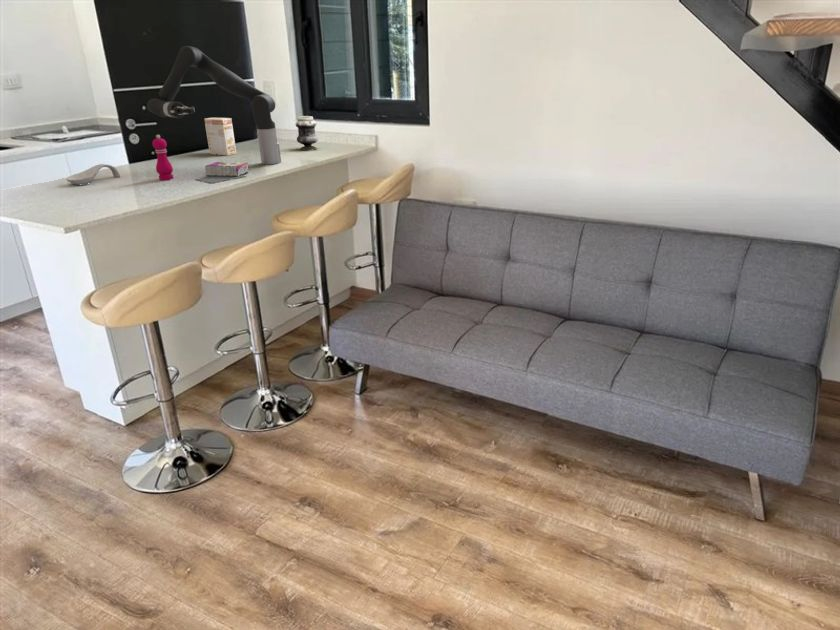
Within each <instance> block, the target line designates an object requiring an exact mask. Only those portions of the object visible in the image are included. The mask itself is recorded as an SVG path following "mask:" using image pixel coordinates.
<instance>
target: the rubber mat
mask: <svg viewBox="0 0 840 630" xmlns="http://www.w3.org/2000/svg"><path fill="white" fill-rule="evenodd" d="M242 177H243V178H247V175H244V174H242V175H240V176H205V177H200V178H195V179H194V180H195V181H198V180H199V182H202V181H204V182H203V183H207V182H208V184H211V183H212V184H216V183H215V182H217V183H221V182H220V181H222V182H226V181H225V180H227V181H231V180H230V179H233V180H237V178H238V179H242Z"/></svg>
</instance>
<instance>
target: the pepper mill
mask: <svg viewBox="0 0 840 630" xmlns="http://www.w3.org/2000/svg"><path fill="white" fill-rule="evenodd" d="M167 145H168V144H167V141H166V140H165V139H164V138H161V135H160V134H156V135H155V138H154V139H153V140H152V147H153V148H154V149H155V150H154V153H156V157H157V158H156V159H157V162H156V166H155V171H156V173H157V174H158V179H159V181H170V179H171V180H173V179H174V174H173V171H174V169H173V166H172V164H171V161H169V158H168V155H167V153H168V150H167Z"/></svg>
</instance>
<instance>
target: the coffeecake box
mask: <svg viewBox="0 0 840 630" xmlns="http://www.w3.org/2000/svg"><path fill="white" fill-rule="evenodd" d="M232 120H233V119H232V117H231V118H230V117H207V118H206V117H205V118H204V125H205V132H206V138H207V144H208V145H207V146H208V151H209V154H210V155H216V154H217V155H218V156H227V155H228V156H232V155H231V154H233V155H237V154H236V153H237V148H236V141H235V134H234V127H233V121H232ZM217 155H216V156H217Z"/></svg>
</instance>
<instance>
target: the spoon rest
mask: <svg viewBox="0 0 840 630" xmlns="http://www.w3.org/2000/svg"><path fill="white" fill-rule="evenodd" d="M102 168H108V169H109V170H111V173H112V176H113V177H114V178H120V177H121V174H120V172H119V171H118V170H117V169H118V168H116V167H115V166H113V165H110V164H105V163H99V164H97V165H93V166H91V167H90V168H88V169H86V170H83V171H81V172H79V173H75V174H72V175H70V176H67V177H66V181H67V182H69V183H70V184H72V185H74V184H76V185H75V186H81V185H80V184H86V185H89V184H88V183H90V184H92V182H94V180H95V178H96V176H97V174H98V173H99V171H100V170H101V169H102Z"/></svg>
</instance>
